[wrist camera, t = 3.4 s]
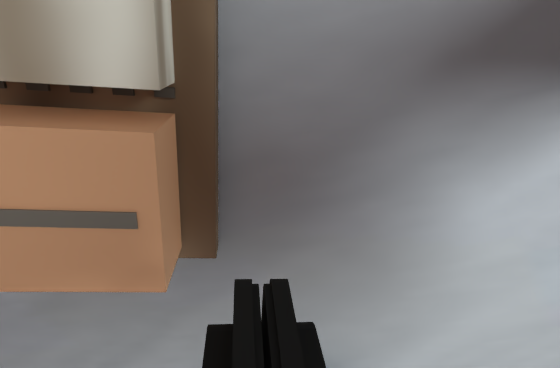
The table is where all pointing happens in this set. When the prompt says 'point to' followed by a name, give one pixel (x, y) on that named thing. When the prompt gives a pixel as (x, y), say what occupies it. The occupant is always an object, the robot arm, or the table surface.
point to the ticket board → (185, 119)
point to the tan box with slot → (87, 200)
